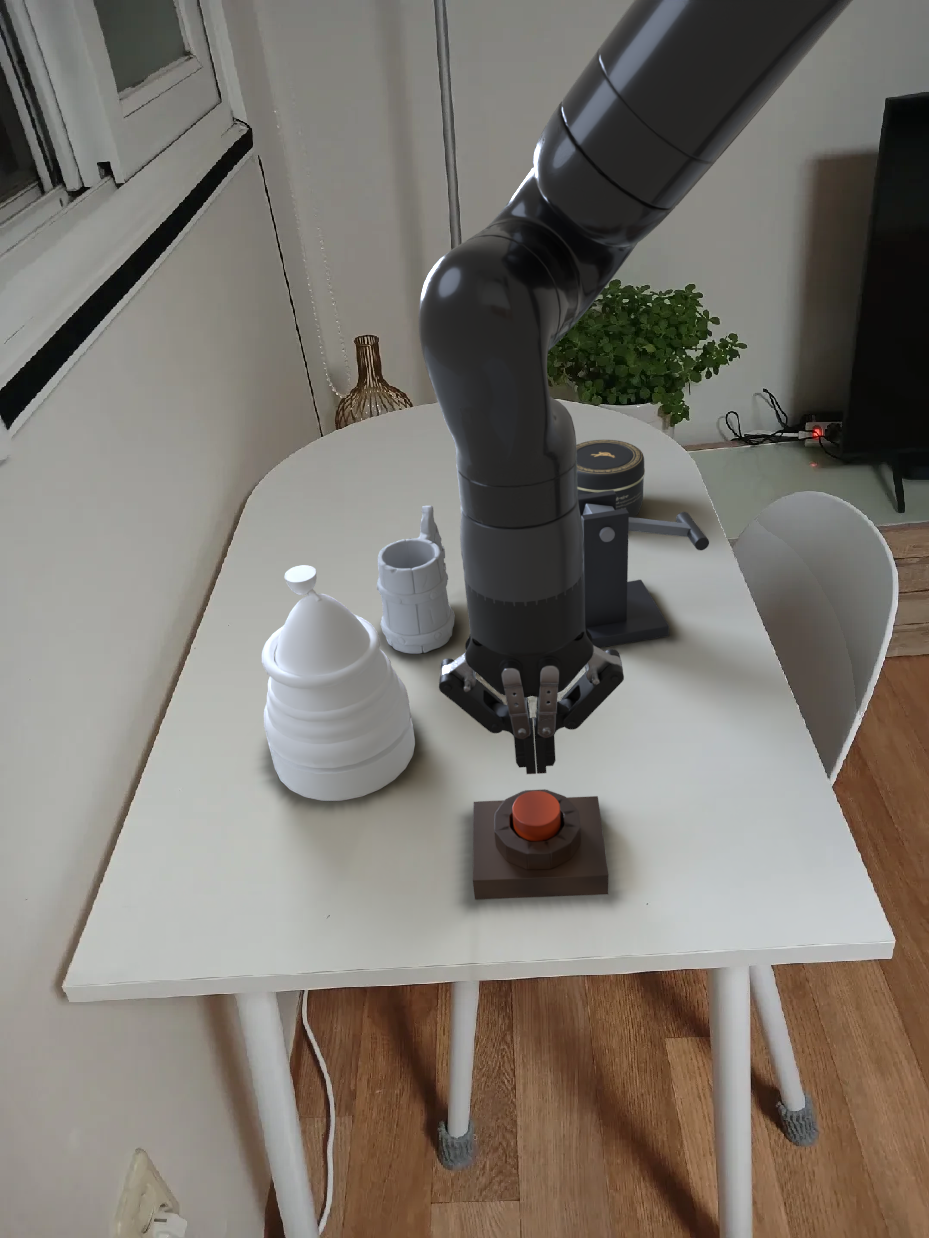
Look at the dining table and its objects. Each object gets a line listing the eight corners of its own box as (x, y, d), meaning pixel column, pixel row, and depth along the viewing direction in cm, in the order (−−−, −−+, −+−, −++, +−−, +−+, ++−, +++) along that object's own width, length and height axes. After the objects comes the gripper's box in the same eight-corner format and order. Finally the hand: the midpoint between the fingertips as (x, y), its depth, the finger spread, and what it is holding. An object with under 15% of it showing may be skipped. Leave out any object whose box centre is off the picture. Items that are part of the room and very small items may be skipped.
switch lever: (685, 528, 98) (692, 508, 97) (705, 555, 94) (713, 534, 92) (575, 517, 95) (581, 495, 94) (589, 544, 91) (596, 521, 89)
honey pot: (252, 740, 89) (206, 578, 78) (373, 685, 94) (345, 526, 83) (311, 823, 79) (268, 652, 69) (441, 757, 85) (420, 589, 74)
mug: (371, 651, 98) (354, 551, 92) (412, 589, 108) (399, 494, 101) (441, 660, 96) (429, 559, 89) (476, 596, 105) (468, 500, 98)
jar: (556, 497, 122) (554, 443, 118) (632, 488, 123) (634, 433, 118) (570, 536, 114) (569, 479, 110) (652, 526, 114) (654, 469, 110)
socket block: (597, 814, 78) (597, 779, 75) (608, 894, 71) (608, 858, 69) (475, 820, 78) (471, 785, 76) (474, 899, 72) (470, 864, 69)
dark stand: (640, 589, 104) (644, 475, 96) (668, 636, 96) (675, 517, 89) (533, 606, 103) (527, 492, 95) (553, 655, 95) (549, 536, 87)
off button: (559, 805, 74) (558, 789, 73) (562, 840, 71) (561, 824, 70) (512, 807, 74) (511, 791, 73) (514, 842, 71) (512, 826, 70)
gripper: (413, 604, 57) (444, 808, 67) (637, 590, 56) (634, 799, 66) (421, 540, 63) (447, 735, 73) (622, 527, 62) (622, 726, 72)
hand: (536, 765), depth 69 cm, fingers closed
